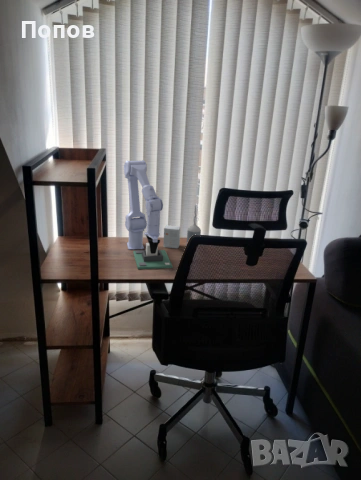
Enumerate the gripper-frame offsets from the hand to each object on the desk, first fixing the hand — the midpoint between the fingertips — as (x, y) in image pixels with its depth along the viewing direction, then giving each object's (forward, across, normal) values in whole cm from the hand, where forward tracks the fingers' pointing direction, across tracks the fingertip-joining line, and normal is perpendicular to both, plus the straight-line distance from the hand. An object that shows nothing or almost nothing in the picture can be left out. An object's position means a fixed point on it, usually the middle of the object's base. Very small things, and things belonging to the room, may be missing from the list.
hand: (152, 251), depth 187 cm
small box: (+5, -18, +13) cm, 23 cm away
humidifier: (+5, -8, +22) cm, 24 cm away
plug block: (+2, 0, 0) cm, 2 cm away
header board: (+4, 0, 0) cm, 4 cm away
